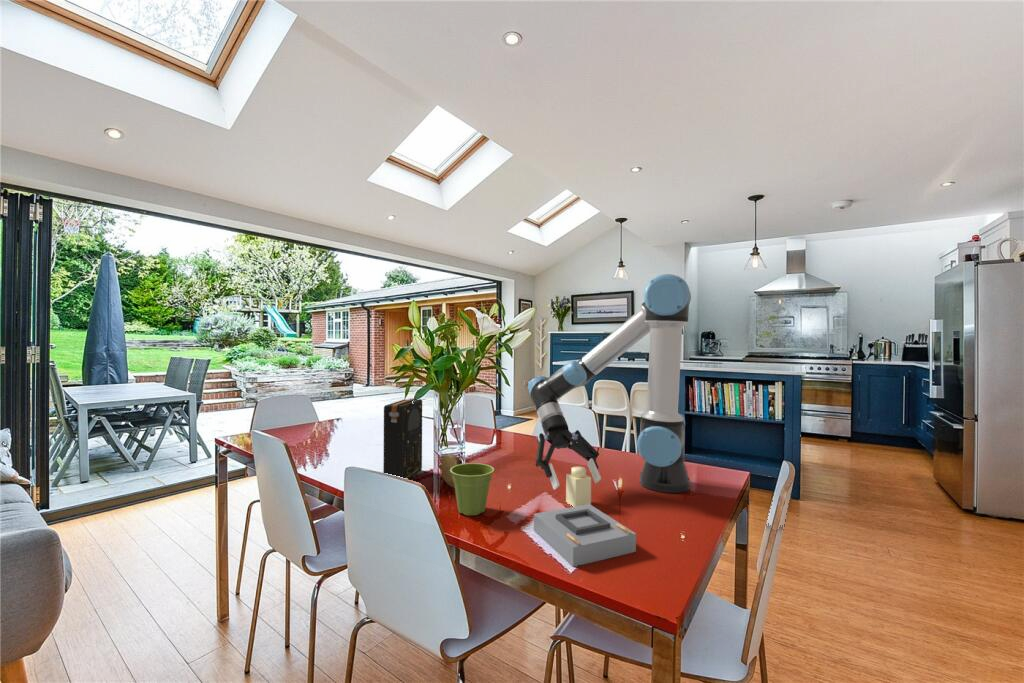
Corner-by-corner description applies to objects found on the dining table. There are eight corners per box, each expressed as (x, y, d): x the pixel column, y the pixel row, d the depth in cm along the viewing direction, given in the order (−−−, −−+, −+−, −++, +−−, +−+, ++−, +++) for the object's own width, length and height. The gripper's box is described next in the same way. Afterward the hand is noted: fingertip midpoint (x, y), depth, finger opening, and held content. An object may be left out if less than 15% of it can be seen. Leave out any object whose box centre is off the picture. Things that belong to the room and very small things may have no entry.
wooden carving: (477, 491, 131) (477, 458, 130) (464, 495, 127) (465, 461, 127) (445, 478, 143) (445, 448, 142) (433, 481, 139) (434, 450, 139)
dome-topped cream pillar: (581, 499, 125) (581, 465, 125) (590, 506, 120) (591, 470, 120) (566, 502, 123) (566, 467, 123) (575, 508, 118) (575, 472, 118)
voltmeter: (405, 484, 136) (405, 405, 136) (380, 482, 138) (380, 404, 137) (425, 469, 151) (425, 398, 151) (402, 468, 153) (402, 397, 153)
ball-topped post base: (589, 519, 111) (589, 500, 111) (635, 551, 95) (636, 529, 95) (533, 530, 105) (533, 509, 105) (573, 566, 88) (573, 542, 88)
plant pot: (501, 514, 114) (502, 471, 114) (459, 523, 108) (460, 478, 108) (482, 499, 124) (482, 460, 124) (443, 507, 118) (443, 466, 118)
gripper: (582, 424, 142) (609, 484, 128) (512, 430, 132) (533, 496, 118) (591, 411, 137) (620, 472, 123) (519, 416, 127) (542, 483, 113)
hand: (578, 484), depth 121 cm, fingers open, 13 cm apart
